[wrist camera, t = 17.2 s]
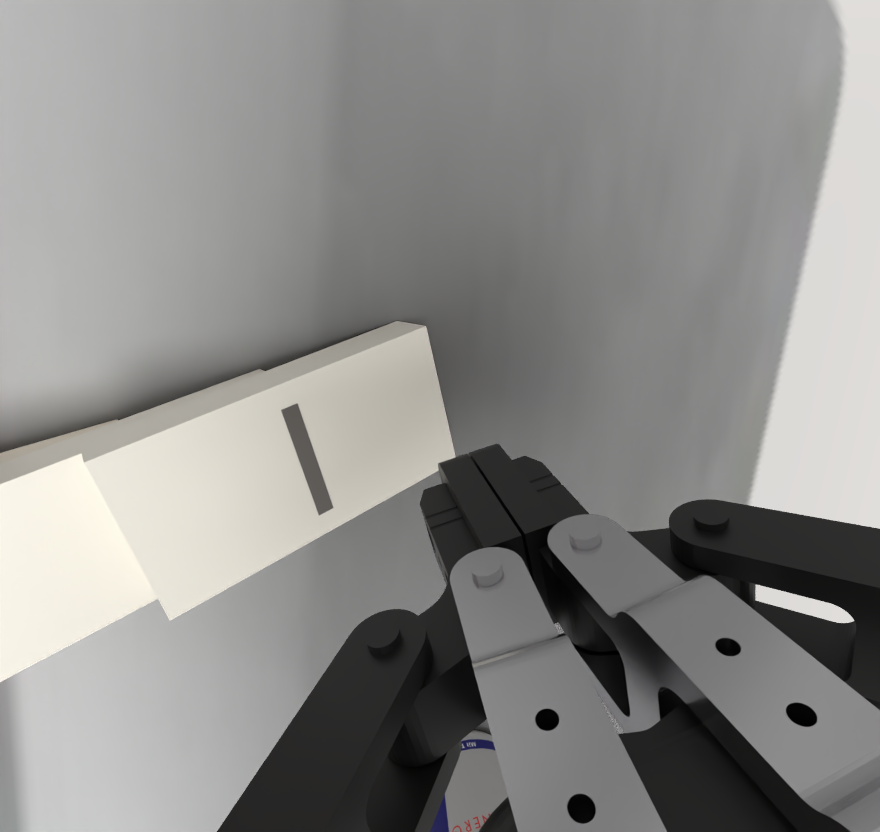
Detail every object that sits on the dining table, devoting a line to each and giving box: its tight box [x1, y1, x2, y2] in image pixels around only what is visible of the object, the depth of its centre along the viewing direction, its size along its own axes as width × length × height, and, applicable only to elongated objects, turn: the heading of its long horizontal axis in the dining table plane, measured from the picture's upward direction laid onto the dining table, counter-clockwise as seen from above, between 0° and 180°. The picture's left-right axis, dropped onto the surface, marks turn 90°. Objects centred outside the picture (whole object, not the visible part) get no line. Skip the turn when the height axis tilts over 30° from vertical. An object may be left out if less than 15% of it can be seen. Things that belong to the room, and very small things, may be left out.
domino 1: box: [0, 369, 265, 682], centre depth 16 cm, size 5×2×10 cm
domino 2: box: [79, 321, 456, 620], centre depth 17 cm, size 5×2×10 cm
